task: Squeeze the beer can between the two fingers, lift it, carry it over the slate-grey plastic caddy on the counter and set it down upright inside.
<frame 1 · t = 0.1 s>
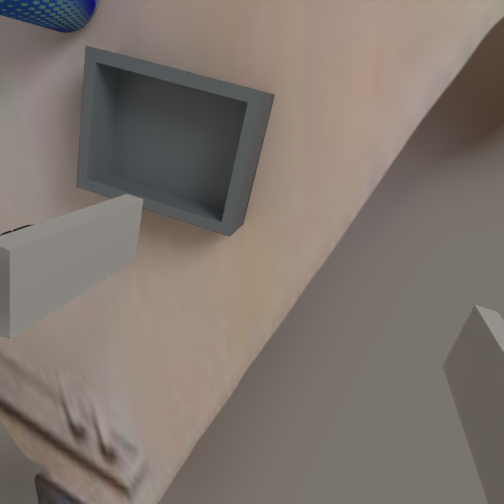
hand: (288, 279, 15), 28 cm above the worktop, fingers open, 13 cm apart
caddy: (181, 141, 44), on the worktop
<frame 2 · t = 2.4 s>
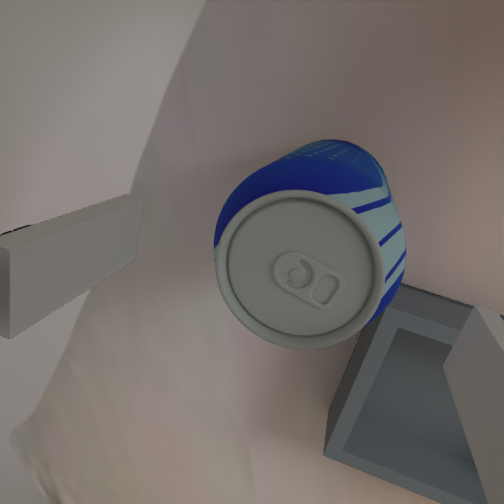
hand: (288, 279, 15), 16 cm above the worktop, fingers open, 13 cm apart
caddy: (463, 389, 32), on the worktop
beer can: (329, 195, 30), on the worktop
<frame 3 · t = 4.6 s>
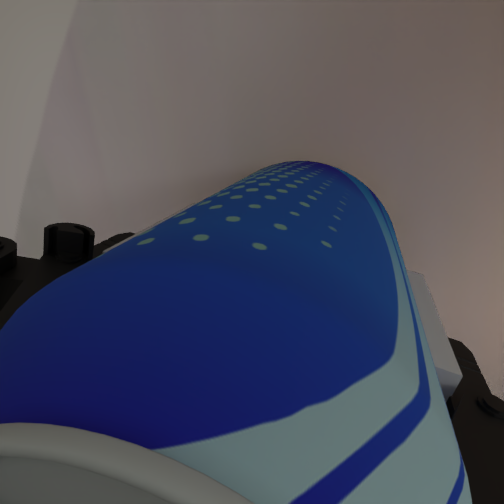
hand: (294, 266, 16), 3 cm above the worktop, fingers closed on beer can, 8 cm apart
beer can: (303, 244, 19), on the worktop, touching gripper
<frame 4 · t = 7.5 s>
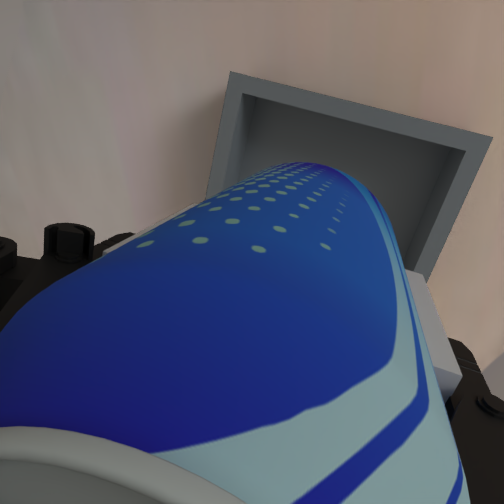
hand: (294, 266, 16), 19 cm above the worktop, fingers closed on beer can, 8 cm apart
caddy: (328, 189, 34), on the worktop
beer can: (303, 245, 19), point 16 cm above the worktop, touching gripper
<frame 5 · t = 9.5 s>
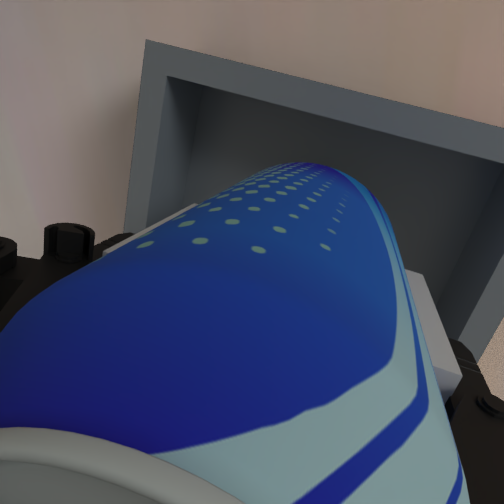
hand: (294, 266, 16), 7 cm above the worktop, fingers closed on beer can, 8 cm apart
caddy: (313, 223, 23), on the worktop
beer can: (303, 246, 19), point 4 cm above the worktop, touching gripper
when the fingers open (5 cm above the worktop, at t = 10.8 s): beer can drops 2 cm, resting on caddy.
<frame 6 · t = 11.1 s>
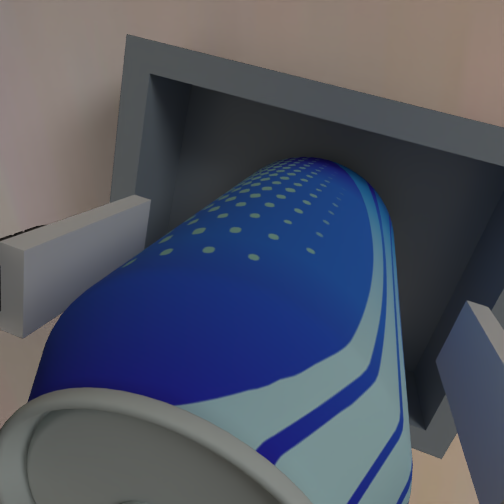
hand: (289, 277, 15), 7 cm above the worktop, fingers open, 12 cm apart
caddy: (309, 231, 21), on the worktop
beer can: (309, 232, 21), point 1 cm above the worktop, touching caddy
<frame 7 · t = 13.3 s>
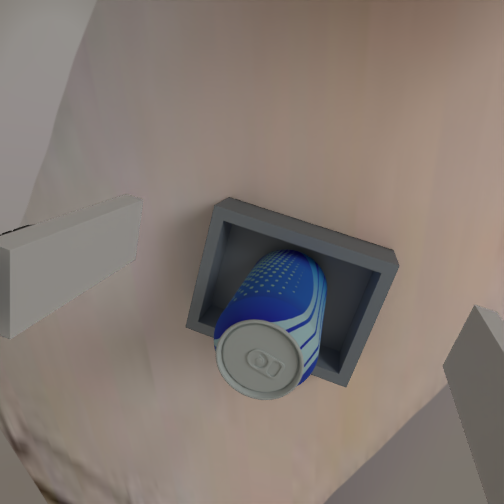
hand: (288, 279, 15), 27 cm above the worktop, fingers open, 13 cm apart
caddy: (289, 281, 44), on the worktop
beer can: (289, 281, 44), resting on caddy
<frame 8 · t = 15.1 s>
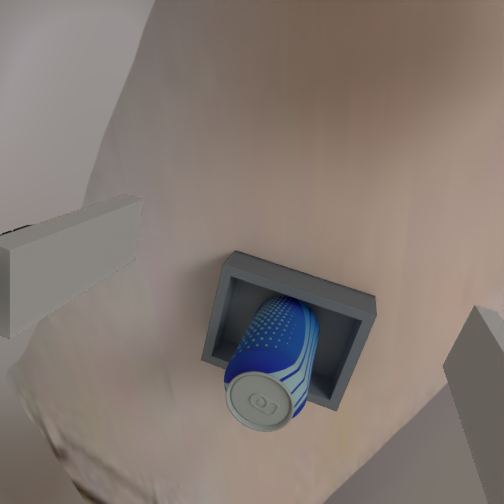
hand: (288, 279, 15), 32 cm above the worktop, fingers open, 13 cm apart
caddy: (288, 319, 52), on the worktop
beer can: (288, 320, 51), resting on caddy
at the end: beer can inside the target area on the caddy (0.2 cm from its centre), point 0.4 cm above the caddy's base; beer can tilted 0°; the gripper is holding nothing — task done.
